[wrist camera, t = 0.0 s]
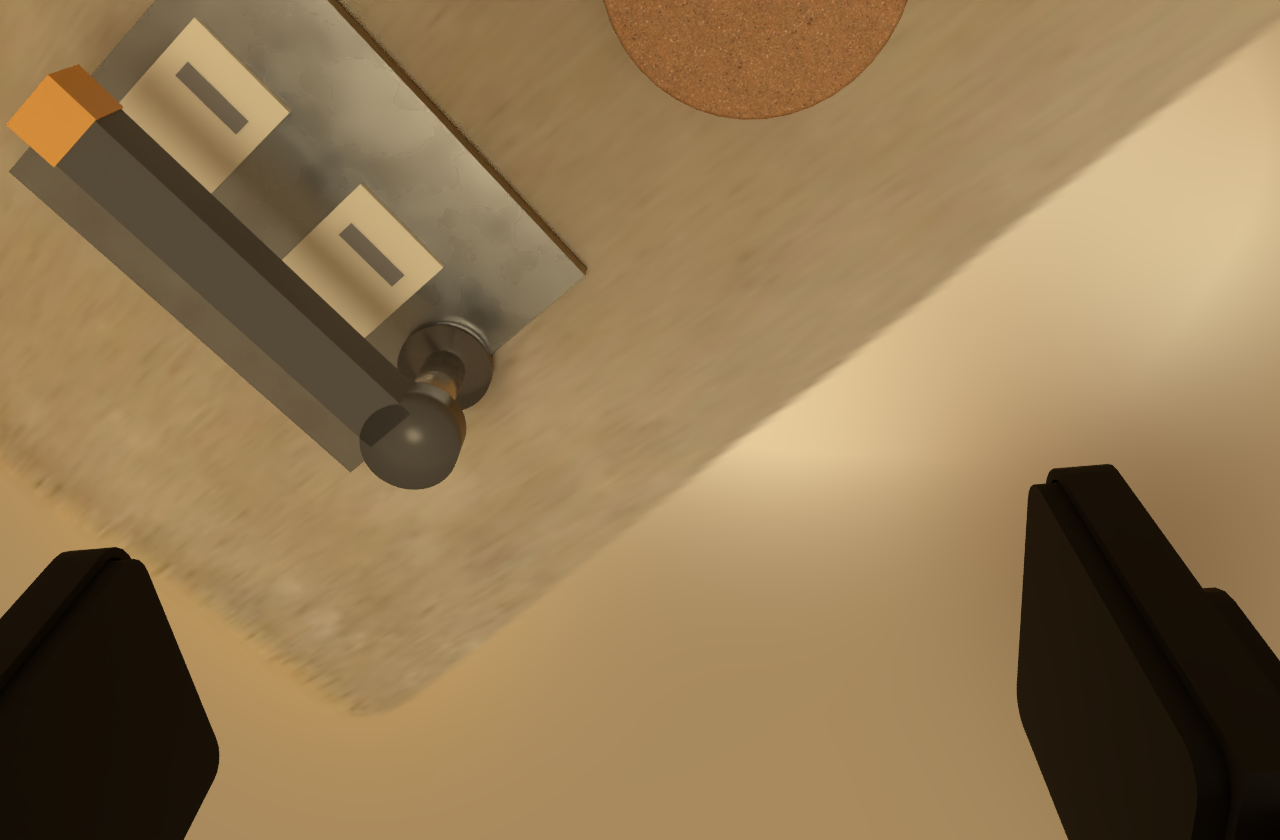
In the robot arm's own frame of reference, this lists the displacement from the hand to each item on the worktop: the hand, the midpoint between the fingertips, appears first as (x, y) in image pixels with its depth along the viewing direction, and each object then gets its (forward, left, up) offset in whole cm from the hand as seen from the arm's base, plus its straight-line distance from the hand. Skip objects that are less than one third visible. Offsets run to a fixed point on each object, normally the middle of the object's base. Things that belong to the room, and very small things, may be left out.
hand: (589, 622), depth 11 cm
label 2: (-2, -17, -36) cm, 40 cm away
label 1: (-11, -16, -36) cm, 41 cm away
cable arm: (-4, -17, -30) cm, 35 cm away
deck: (-5, -17, -37) cm, 41 cm away
